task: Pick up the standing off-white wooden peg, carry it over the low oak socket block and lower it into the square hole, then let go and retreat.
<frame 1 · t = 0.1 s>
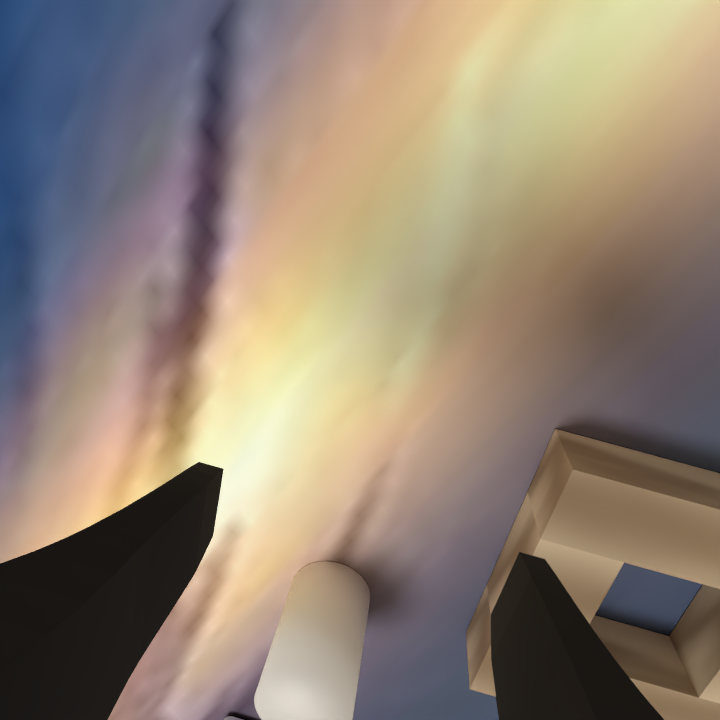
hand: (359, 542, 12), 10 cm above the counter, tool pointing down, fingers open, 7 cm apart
peg: (330, 592, 26), on the counter
socket block: (636, 576, 24), on the counter
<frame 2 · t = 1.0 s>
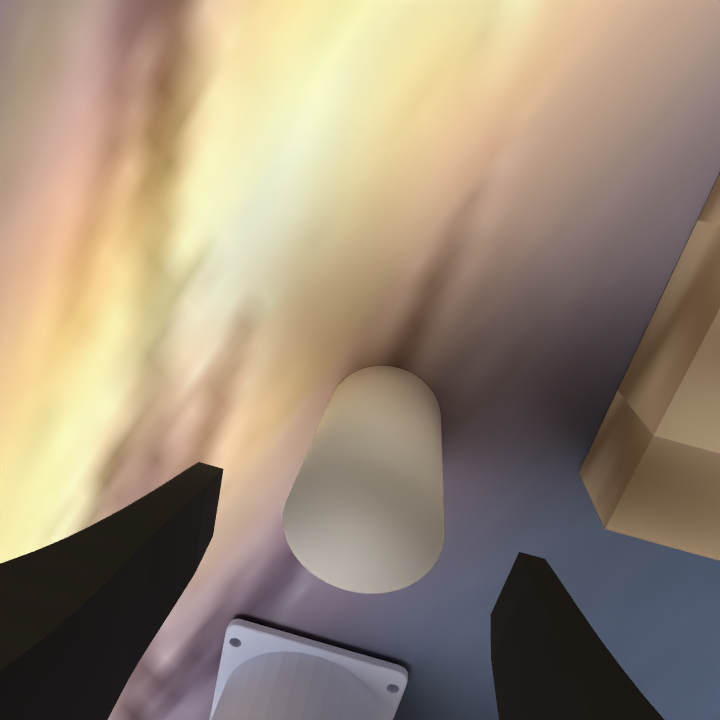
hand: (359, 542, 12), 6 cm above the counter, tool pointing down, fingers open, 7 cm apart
peg: (383, 418, 18), on the counter
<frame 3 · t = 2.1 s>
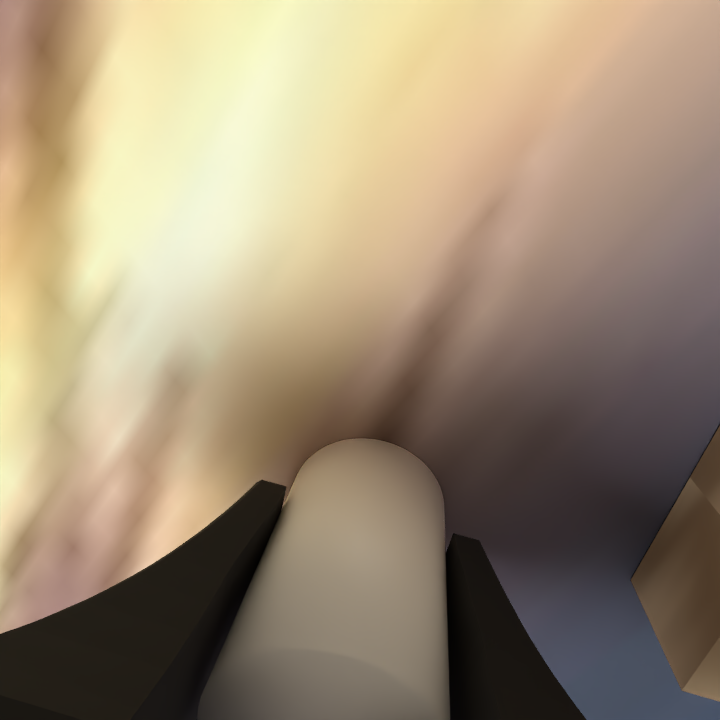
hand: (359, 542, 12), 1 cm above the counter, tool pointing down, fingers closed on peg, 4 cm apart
peg: (366, 505, 14), on the counter, touching gripper
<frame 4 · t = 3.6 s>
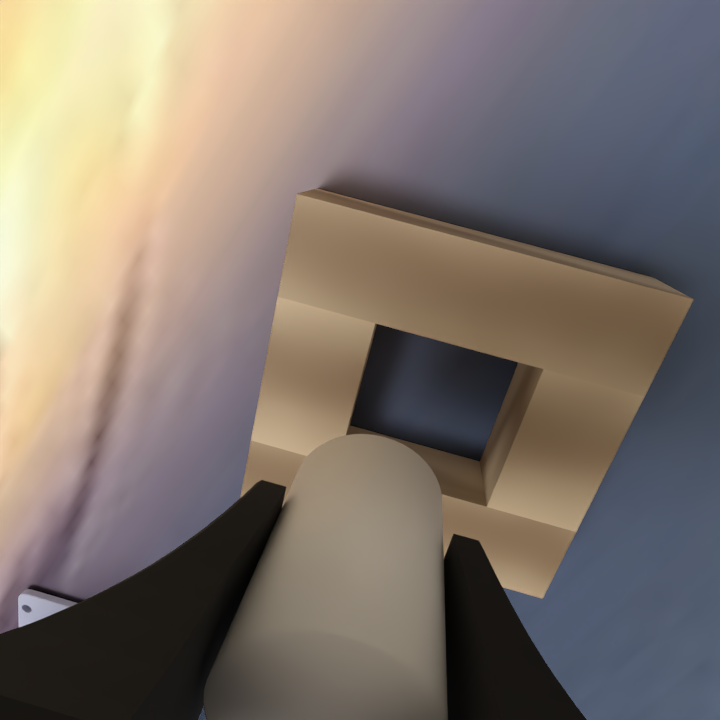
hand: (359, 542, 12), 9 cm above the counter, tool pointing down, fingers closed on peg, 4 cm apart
peg: (366, 500, 14), point 7 cm above the counter, touching gripper
socket block: (433, 384, 20), on the counter
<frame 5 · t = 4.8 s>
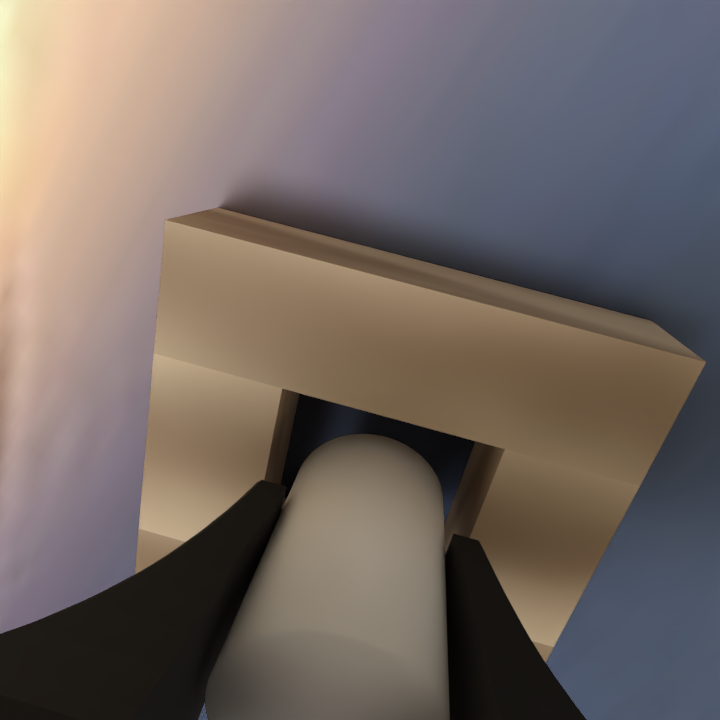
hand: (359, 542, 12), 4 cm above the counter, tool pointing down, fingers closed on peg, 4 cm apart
peg: (367, 500, 14), point 3 cm above the counter, touching gripper
socket block: (377, 449, 16), on the counter
when the fingers open (4 cm above the counter, at t = 5.4 s): peg drops 2 cm, resting in socket block.
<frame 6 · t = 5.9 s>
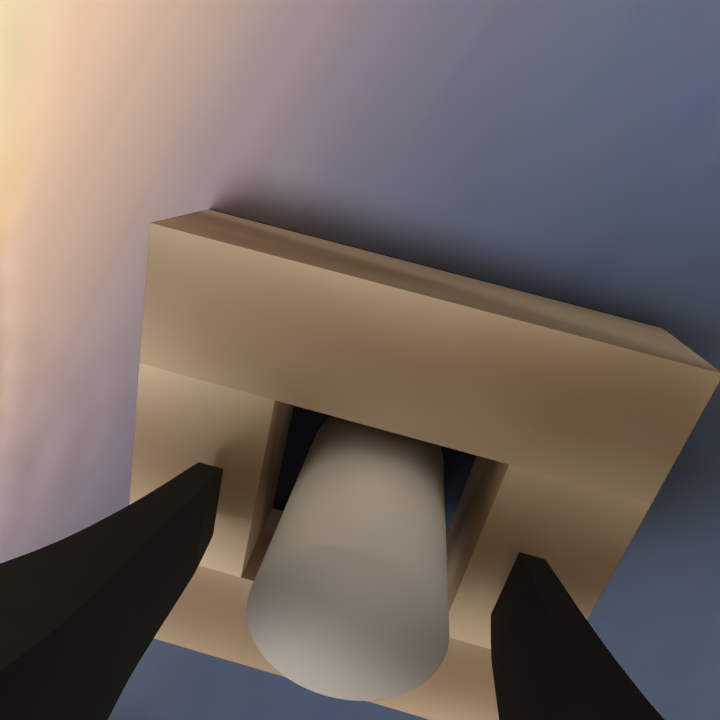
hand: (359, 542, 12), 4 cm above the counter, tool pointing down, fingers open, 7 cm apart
peg: (376, 462, 16), resting in socket block
socket block: (375, 460, 16), on the counter
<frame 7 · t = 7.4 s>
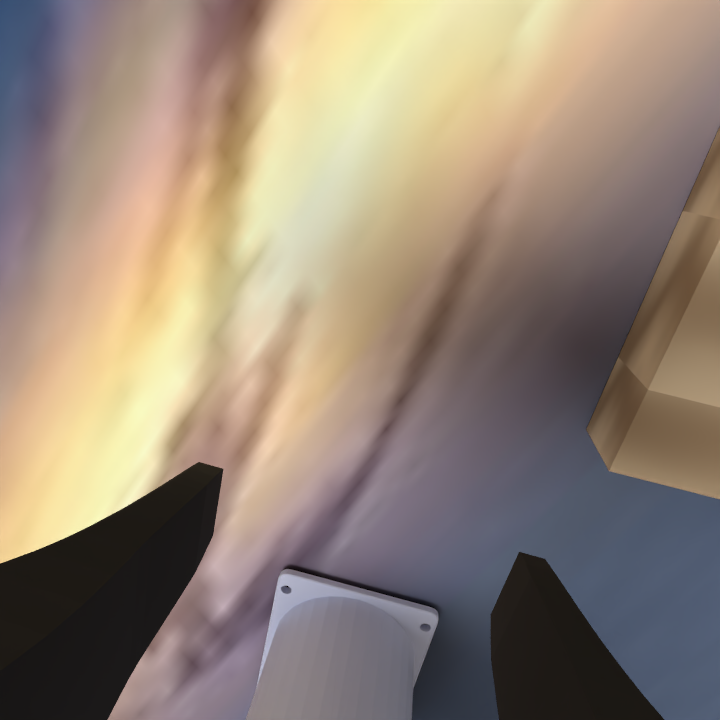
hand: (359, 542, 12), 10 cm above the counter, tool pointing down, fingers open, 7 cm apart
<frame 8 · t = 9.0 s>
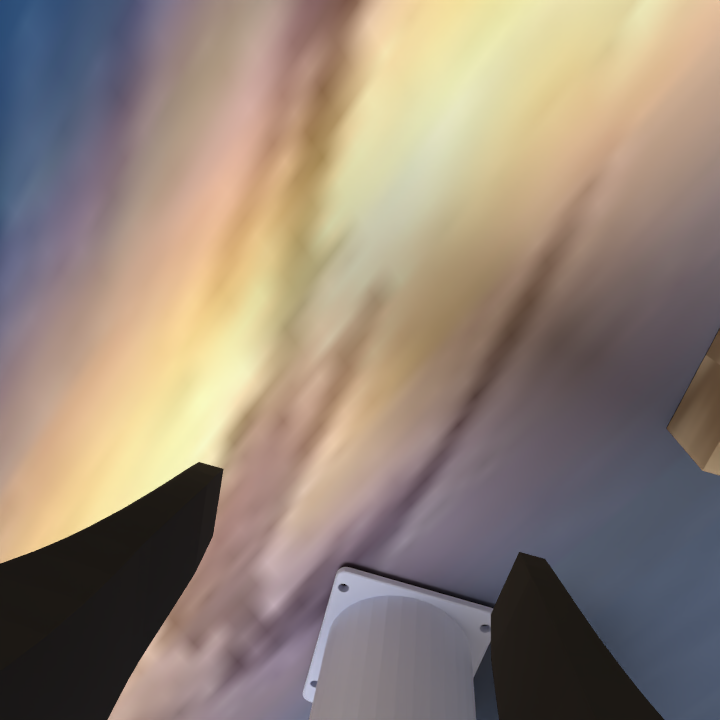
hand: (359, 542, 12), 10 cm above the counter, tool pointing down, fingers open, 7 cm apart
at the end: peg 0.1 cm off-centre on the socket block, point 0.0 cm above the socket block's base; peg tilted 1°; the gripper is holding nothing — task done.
